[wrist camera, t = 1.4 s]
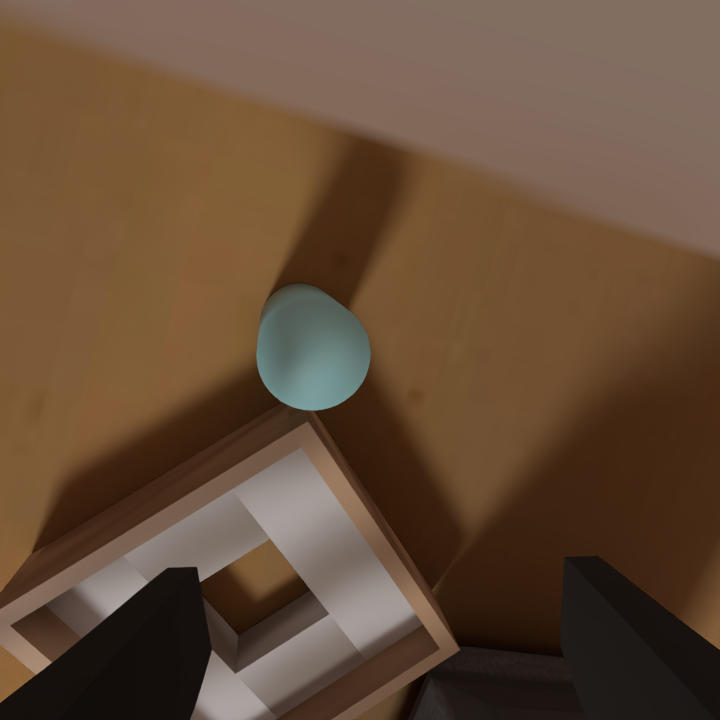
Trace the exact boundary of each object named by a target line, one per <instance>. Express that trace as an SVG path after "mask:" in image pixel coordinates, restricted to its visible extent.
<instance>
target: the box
mask: <svg viewBox="0 0 720 720" xmlns="http://www.w3.org/2000/svg"><path fill="white" fill-rule="evenodd" d="M269 539H271V540H272V541H273V542H274V544H275V545H276V546H277V548H278V549H279V550H280V551H281V553H282V554H283V555H284V556H285V558H286V559H287V560H288V562H289V563H290V564H291V565H292V567H293V568H294V569H295V571H296V572H297V573H298V574H299V576H300V577H301V578H302V579H303V581H304V582H305V583H306V585H307V586H308V587H309V588H310V591H308V592H307V593H305V594H303V595H302V596H300V597H299V598H297V599H296V600H294V601H292V602H291V603H289V604H288V605H286V606H284V607H283V608H281V609H280V610H278V611H277V612H275V613H273V614H272V615H270V616H269V617H267V618H265V619H264V620H262V621H261V622H259V623H258V624H256V625H254V626H253V627H251V628H250V629H248V630H247V631H245V632H243V633H242V634H240V635H239V636H238V635H237V633H236V632H235V631H234V630H233V629H232V628H231V627H230V626H229V625H228V623H227V622H226V621H225V620H224V619H223V618H222V617H221V616H220V615H219V614H218V612H217V611H216V610H215V609H214V608H213V607H212V606H211V605H210V604H209V603H208V601H207V600H206V599H205V598H204V597H203V596H202V597H203V602H204V608H205V613H206V619H207V624H208V630H209V635H210V641H211V646H212V652H211V655H210V659H209V662H208V666H207V669H206V673H205V676H204V680H203V683H202V686H201V690H200V693H199V696H198V699H197V702H196V706H195V709H194V711H193V714H192V716H191V719H190V720H353V719H355V718H357V717H358V716H360V715H361V714H363V713H364V712H366V711H367V710H369V709H370V708H372V707H373V706H375V705H376V704H378V703H380V702H381V701H383V700H384V699H386V698H387V697H389V696H390V695H392V694H393V693H395V692H396V691H398V690H400V689H401V688H403V687H404V686H406V685H407V684H409V683H410V682H412V681H413V680H415V679H416V678H418V677H419V676H421V675H423V674H424V673H426V672H427V671H429V670H430V669H432V668H433V667H435V666H436V665H438V664H439V663H441V662H442V661H444V660H446V659H447V658H449V657H450V656H452V655H453V654H455V653H456V652H458V651H459V650H460V648H459V646H458V644H457V642H456V640H455V638H454V636H453V634H452V631H451V629H450V627H449V625H448V623H447V621H446V619H445V617H444V615H443V613H442V610H441V608H440V606H439V604H438V602H437V600H436V598H435V596H434V594H433V592H432V590H431V588H430V587H429V585H428V584H427V582H426V581H425V579H424V578H423V576H422V575H421V573H420V572H419V570H418V569H417V567H416V566H415V564H414V562H413V561H412V559H411V558H410V556H409V555H408V553H407V552H406V550H405V549H404V547H403V546H402V544H401V543H400V541H399V540H398V538H397V537H396V535H395V533H394V532H393V530H392V529H391V527H390V526H389V524H388V523H387V521H386V520H385V518H384V517H383V515H382V514H381V512H380V511H379V509H378V508H377V506H376V504H375V503H374V501H373V500H372V498H371V497H370V495H369V494H368V492H367V491H366V489H365V488H364V486H363V485H362V483H361V482H360V480H359V479H358V477H357V476H356V474H355V472H354V471H353V469H352V468H351V466H350V465H349V463H348V462H347V460H346V459H345V457H344V456H343V454H342V453H341V451H340V450H339V448H338V447H337V445H336V443H335V442H334V440H333V439H332V437H331V436H330V434H329V433H328V431H327V430H326V428H325V427H324V425H323V424H322V422H321V421H320V419H319V418H318V416H317V414H316V413H315V411H314V410H301V409H298V408H294V407H291V406H289V405H287V404H285V403H283V402H281V403H280V404H278V405H276V406H275V407H273V408H271V409H270V410H268V411H266V412H265V413H263V414H261V415H260V416H258V417H257V418H255V419H253V420H252V421H250V422H248V423H247V424H245V425H243V426H242V427H240V428H238V429H237V430H235V431H233V432H232V433H230V434H229V435H227V436H225V437H224V438H222V439H220V440H219V441H217V442H215V443H214V444H212V445H210V446H209V447H207V448H205V449H204V450H202V451H201V452H199V453H197V454H196V455H194V456H192V457H191V458H189V459H187V460H186V461H184V462H182V463H181V464H179V465H177V466H176V467H174V468H172V469H171V470H169V471H168V472H166V473H164V474H163V475H161V476H159V477H158V478H156V479H154V480H153V481H151V482H149V483H148V484H146V485H144V486H143V487H141V488H140V489H138V490H136V491H135V492H133V493H131V494H130V495H128V496H126V497H125V498H123V499H121V500H120V501H118V502H116V503H115V504H113V505H112V506H110V507H108V508H107V509H105V510H103V511H102V512H100V513H98V514H97V515H95V516H93V517H92V518H90V519H88V520H87V521H85V522H84V523H82V524H80V525H79V526H77V527H75V528H74V529H72V530H70V531H69V532H67V533H65V534H64V535H62V536H60V537H59V538H57V539H56V540H54V541H52V542H51V543H49V544H47V545H46V546H44V547H42V548H41V549H39V550H37V551H36V552H34V553H32V554H31V555H30V556H29V557H28V558H27V560H26V561H25V562H24V563H23V565H22V566H21V567H20V568H19V570H18V571H17V572H16V574H15V575H14V576H13V577H12V579H11V580H10V581H9V583H8V584H7V585H6V586H5V588H4V589H3V590H2V591H1V593H0V645H2V646H3V647H4V648H5V649H6V650H8V651H9V652H10V653H11V654H12V655H13V656H15V657H16V658H17V659H18V660H19V661H21V662H22V663H23V664H24V665H25V666H27V667H28V668H29V669H30V670H31V671H32V672H34V673H35V674H36V675H37V674H38V673H39V672H41V671H42V670H43V669H44V668H46V667H47V666H48V665H50V664H51V663H52V662H53V661H55V660H56V659H57V658H59V657H60V656H61V655H62V654H63V653H65V652H66V651H67V650H68V649H70V648H71V647H72V646H73V645H74V644H76V643H77V642H78V641H79V640H80V639H82V638H83V637H84V636H85V635H86V634H88V633H89V632H90V631H91V630H92V629H94V628H95V627H96V626H97V625H99V624H100V623H101V622H102V621H103V620H105V619H106V618H107V617H108V616H109V615H111V614H112V613H113V612H114V611H115V610H116V609H118V608H119V607H120V606H121V605H122V604H124V603H125V602H126V601H127V600H128V599H130V598H131V597H132V596H133V595H134V594H135V593H137V592H138V591H139V590H140V589H141V588H143V587H144V586H145V585H146V584H147V583H149V582H150V581H151V580H152V579H154V578H155V577H156V576H157V575H159V574H160V573H161V572H163V571H164V570H165V569H166V568H168V567H197V569H198V575H199V580H200V582H201V581H203V580H205V579H206V578H208V577H209V576H211V575H213V574H214V573H216V572H217V571H219V570H221V569H222V568H224V567H225V566H227V565H229V564H230V563H232V562H233V561H235V560H237V559H238V558H240V557H242V556H243V555H245V554H246V553H248V552H250V551H251V550H253V549H254V548H256V547H258V546H259V545H261V544H262V543H264V542H266V541H267V540H269Z"/></svg>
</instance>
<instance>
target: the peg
mask: <svg viewBox="0 0 720 720" xmlns="http://www.w3.org/2000/svg"><path fill="white" fill-rule="evenodd" d="M370 356H371V352H370V343H369V339H368V336H367V333H366V331H365V329H364V327H363V326H362V324H361V323H360V321H359V320H358V319H357V318H356V317H355V316H354V315H353V314H352V313H351V312H350V311H349V310H347V309H346V308H345V307H343V306H342V305H341V304H339V303H338V302H337V301H336V300H334V299H333V298H332V297H330V296H329V295H328V294H326V293H325V292H324V291H322V290H321V289H319V288H317V287H315V286H312V285H309V284H302V283H297V284H290V285H287V286H284V287H282V288H280V289H278V290H277V291H276V292H274V293H273V294H272V295H271V296H270V297H269V299H268V300H267V301H266V303H265V305H264V307H263V310H262V313H261V319H260V328H259V336H258V345H257V367H258V370H259V374H260V376H261V379H262V381H263V383H264V384H265V386H266V387H267V389H268V390H269V391H270V392H271V393H272V394H273V395H274V396H275V397H276V398H277V399H279V400H280V401H281V402H283V403H285V404H287V405H289V406H291V407H294V408H298V409H301V410H323V409H327V408H331V407H333V406H336V405H338V404H340V403H342V402H344V401H345V400H346V399H348V398H349V397H350V396H351V395H353V394H354V393H355V392H356V390H357V389H358V388H359V387H360V385H361V384H362V382H363V381H364V379H365V377H366V374H367V372H368V369H369V364H370Z"/></svg>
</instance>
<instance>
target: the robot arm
mask: <svg viewBox="0 0 720 720" xmlns="http://www.w3.org/2000/svg"><path fill="white" fill-rule="evenodd" d="M560 646H561V649H562V652H563V655H564V658H565V661H566V664H567V667H568V670H569V672H570V675H571V678H572V681H573V684H574V686H575V689H576V692H577V695H578V697H579V700H580V703H581V705H582V708H583V710H584V712H585V714H586V717H587V719H588V720H720V650H719V649H718V648H716V647H715V646H714V645H712V644H711V643H710V642H708V641H707V640H706V639H704V638H703V637H702V636H700V635H699V634H698V633H696V632H695V631H694V630H692V629H691V628H690V627H688V626H687V625H686V624H685V623H683V622H682V621H681V620H679V619H678V618H677V617H675V616H674V615H673V614H672V613H670V612H669V611H668V610H666V609H665V608H664V607H663V606H661V605H660V604H659V603H657V602H656V601H655V600H654V599H652V598H651V597H650V596H649V595H647V594H646V593H645V592H643V591H642V590H641V589H640V588H638V587H637V586H636V585H635V584H633V583H632V582H631V581H629V580H628V579H627V578H626V577H624V576H623V575H622V574H621V573H619V572H618V571H617V570H615V569H614V568H613V567H611V566H610V565H609V564H608V563H606V562H605V561H603V560H602V559H601V558H599V557H598V556H584V557H565V560H564V578H563V597H562V615H561V633H560ZM211 652H212V646H211V641H210V635H209V630H208V624H207V619H206V613H205V608H204V602H203V597H202V591H201V586H200V580H199V575H198V569H197V567H168V568H166V569H165V570H164V571H163V572H161V573H160V574H159V575H157V576H156V577H155V578H154V579H152V580H151V581H150V582H149V583H147V584H146V585H145V586H144V587H143V588H141V589H140V590H139V591H138V592H137V593H135V594H134V595H133V596H132V597H131V598H130V599H128V600H127V601H126V602H125V603H124V604H122V605H121V606H120V607H119V608H118V609H116V610H115V611H114V612H113V613H112V614H111V615H109V616H108V617H107V618H106V619H105V620H103V621H102V622H101V623H100V624H99V625H97V626H96V627H95V628H94V629H92V630H91V631H90V632H89V633H88V634H86V635H85V636H84V637H83V638H82V639H80V640H79V641H78V642H77V643H76V644H74V645H73V646H72V647H71V648H70V649H68V650H67V651H66V652H65V653H63V654H62V655H61V656H60V657H59V658H57V659H56V660H55V661H53V662H52V663H51V664H50V665H48V666H47V667H46V668H44V669H43V670H42V671H41V672H39V673H38V674H37V675H36V676H34V677H33V678H32V679H30V680H29V681H28V682H27V683H25V684H24V685H23V686H21V687H20V688H19V689H18V690H16V691H15V692H14V693H12V694H11V695H10V696H9V697H7V698H6V699H5V700H3V701H2V702H1V703H0V720H190V719H191V716H192V714H193V711H194V709H195V706H196V702H197V699H198V696H199V693H200V690H201V686H202V683H203V680H204V676H205V673H206V669H207V666H208V662H209V659H210V655H211Z"/></svg>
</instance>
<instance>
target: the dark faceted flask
mask: <svg viewBox="0 0 720 720" xmlns="http://www.w3.org/2000/svg"><path fill="white" fill-rule="evenodd" d="M459 648H460V650H459V651H458V652H456V653H455V654H453V655H452V656H450V657H449V658H447V659H446V660H444V661H442V662H441V663H439V664H438V665H436V666H435V667H433V668H432V669H430V670H429V671H428V673H427V675H426V678H425V680H424V682H423V685H422V687H421V689H420V692H419V694H418V697H417V699H416V701H415V704H414V706H413V708H412V711H411V713H410V715H409V718H408V720H588V719H587V717H586V714H585V712H584V710H583V708H582V705H581V703H580V700H579V697H578V695H577V692H576V689H575V686H574V684H573V681H572V678H571V675H570V672H569V670H568V667H567V664H566V661H565V658H564V657H557V656H548V655H539V654H531V653H522V652H513V651H504V650H495V649H486V648H478V647H466V646H459Z"/></svg>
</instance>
